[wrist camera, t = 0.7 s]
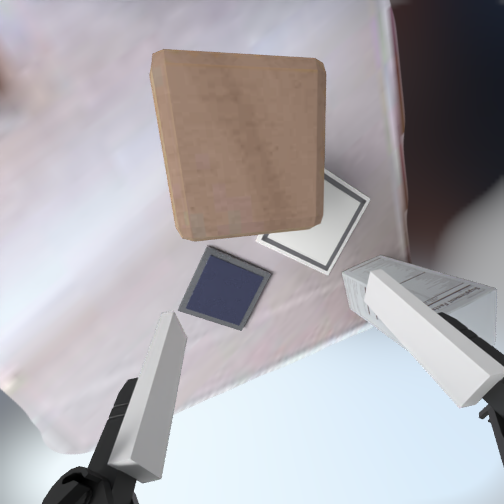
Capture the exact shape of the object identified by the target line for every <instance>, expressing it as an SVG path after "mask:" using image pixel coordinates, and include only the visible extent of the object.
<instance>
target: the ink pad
mask: <svg viewBox="0 0 504 504" xmlns="http://www.w3.org/2000/svg"><path fill="white" fill-rule="evenodd" d="M270 275H271V274H270V272H268V271H265V270H263V269H261V268H258V267H256V266H254V265H251V264H249V263H247V262H244V261H242V260H240V259H237V258H235V257H233V256H230V255H228V254H226V253H223V252H221V251H219V250H217V249H214V248H212V247H210V246H207V247H206V249H205V252H204V254H203V256H202V258H201V260H200V263H199V265H198V267H197V269H196V271H195V273H194V276H193V278H192V280H191V282H190V284H189V286H188V289H187V291H186V293H185V295H184V297H183V299H182V302H181V304H180V306H179V308H178V311H180V312H184V313H187V314H190V315H193V316H196V317H199V318H203V319H206V320H209V321H212V322H215V323H218V324H221V325H225V326H228V327H231V328H234V329H237V330H240V331H242V329H243V327H244V325H245V323H246V321H247V319H248V317H249V316H250V314H251V312H252V310H253V308H254V306H255V304H256V302H257V300H258V298H259V296H260V294H261V292H262V290H263V288H264V287H265V285H266V283H267V281H268V279H269V277H270Z"/></svg>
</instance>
